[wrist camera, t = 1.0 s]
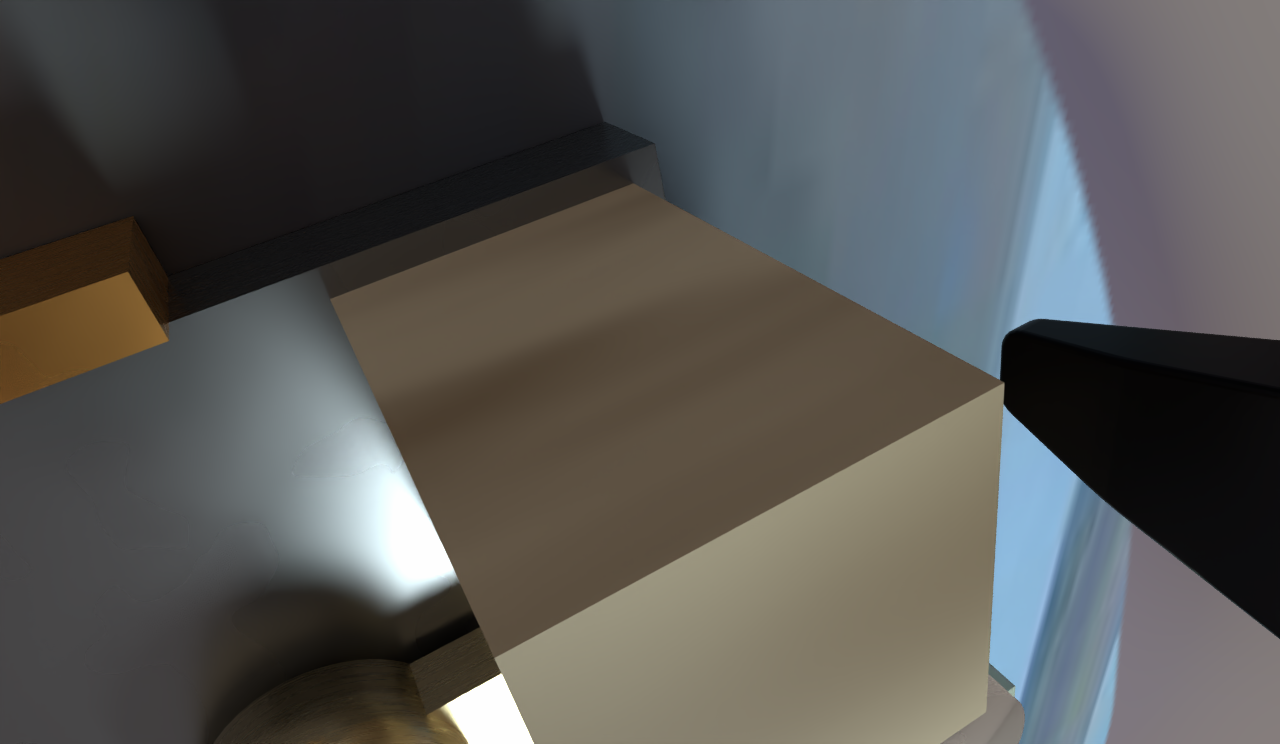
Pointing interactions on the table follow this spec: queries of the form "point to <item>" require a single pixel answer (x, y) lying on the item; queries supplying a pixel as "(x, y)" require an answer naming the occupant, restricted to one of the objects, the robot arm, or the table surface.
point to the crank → (455, 705)
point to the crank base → (227, 460)
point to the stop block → (692, 483)
